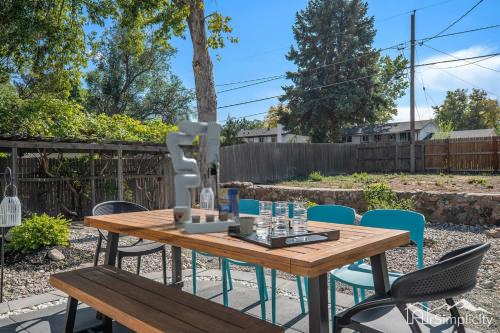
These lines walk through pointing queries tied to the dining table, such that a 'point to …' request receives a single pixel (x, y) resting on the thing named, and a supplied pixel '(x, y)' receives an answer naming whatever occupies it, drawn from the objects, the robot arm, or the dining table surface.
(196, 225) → the socket board
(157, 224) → the dining table surface
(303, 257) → the dining table surface
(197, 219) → the plug left
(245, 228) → the flower pot
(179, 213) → the coffee cup
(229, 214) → the beverage box
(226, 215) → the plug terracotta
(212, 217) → the plug middle
